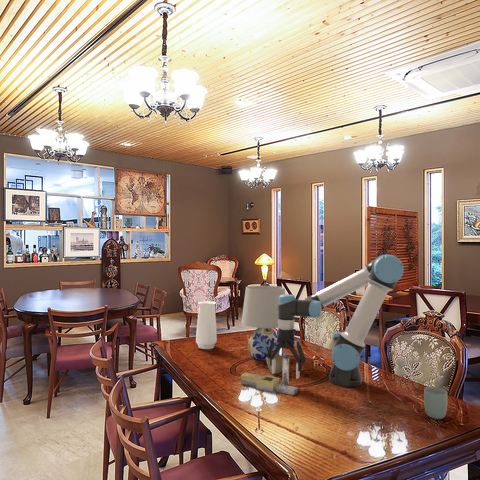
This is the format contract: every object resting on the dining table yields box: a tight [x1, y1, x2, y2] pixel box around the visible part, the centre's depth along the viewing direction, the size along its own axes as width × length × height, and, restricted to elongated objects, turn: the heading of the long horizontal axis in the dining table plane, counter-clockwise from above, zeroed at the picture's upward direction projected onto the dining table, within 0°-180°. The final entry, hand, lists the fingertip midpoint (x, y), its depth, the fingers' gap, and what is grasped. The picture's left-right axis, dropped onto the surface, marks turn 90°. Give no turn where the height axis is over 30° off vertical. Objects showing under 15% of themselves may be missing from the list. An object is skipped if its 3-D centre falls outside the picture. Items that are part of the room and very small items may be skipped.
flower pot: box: [265, 355, 283, 375], centre depth 195 cm, size 10×10×7 cm
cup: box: [423, 386, 448, 420], centre depth 145 cm, size 8×8×10 cm
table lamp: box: [241, 285, 286, 361], centre depth 222 cm, size 27×27×40 cm
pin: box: [281, 352, 291, 386], centre depth 177 cm, size 4×4×14 cm
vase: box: [195, 300, 218, 350], centre depth 241 cm, size 13×13×28 cm
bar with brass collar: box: [240, 372, 298, 396], centre depth 172 cm, size 26×8×4 cm, turn 61°
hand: (285, 375), depth 177 cm, fingers open, 11 cm apart
